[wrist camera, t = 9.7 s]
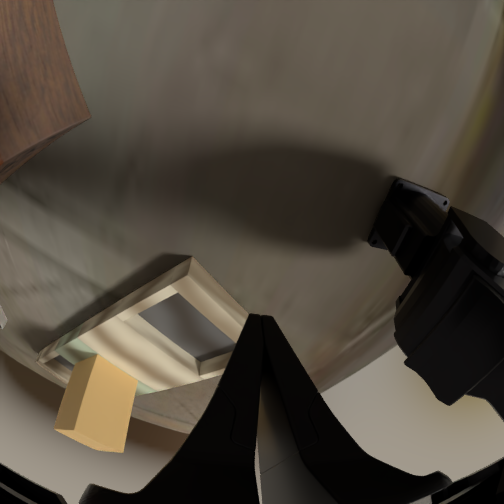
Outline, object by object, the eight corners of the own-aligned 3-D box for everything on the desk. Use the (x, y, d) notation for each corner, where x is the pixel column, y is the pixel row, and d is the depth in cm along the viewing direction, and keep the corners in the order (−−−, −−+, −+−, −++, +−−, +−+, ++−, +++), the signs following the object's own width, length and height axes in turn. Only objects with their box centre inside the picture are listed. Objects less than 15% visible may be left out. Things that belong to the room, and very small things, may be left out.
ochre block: (97, 353, 30) (74, 430, 21) (138, 380, 34) (123, 452, 25) (75, 363, 32) (53, 428, 23) (111, 387, 36) (96, 450, 27)
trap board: (192, 256, 24) (187, 275, 22) (273, 338, 31) (275, 356, 29) (40, 350, 36) (35, 361, 34) (100, 391, 43) (97, 402, 41)
